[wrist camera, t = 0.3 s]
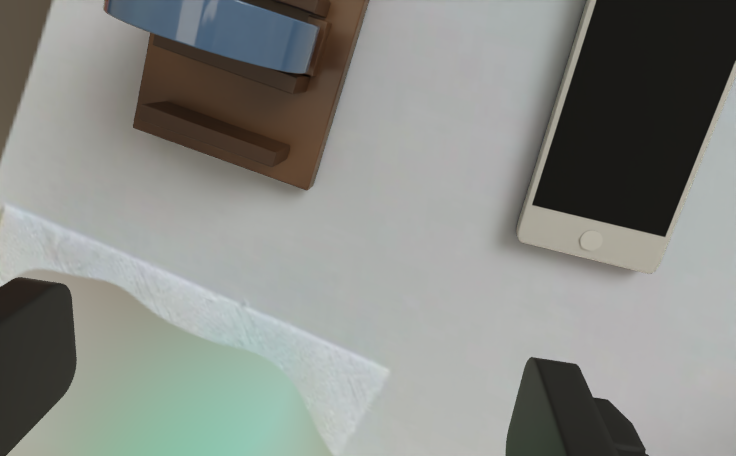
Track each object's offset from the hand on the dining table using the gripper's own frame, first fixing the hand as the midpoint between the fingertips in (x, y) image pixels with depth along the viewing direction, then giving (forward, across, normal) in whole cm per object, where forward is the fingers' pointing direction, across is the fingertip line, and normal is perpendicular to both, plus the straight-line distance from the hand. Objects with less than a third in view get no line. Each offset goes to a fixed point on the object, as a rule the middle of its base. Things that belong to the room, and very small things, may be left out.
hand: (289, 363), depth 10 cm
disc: (+16, +7, -5) cm, 18 cm away
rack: (+21, +7, -5) cm, 23 cm away
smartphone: (+20, -12, -3) cm, 24 cm away
